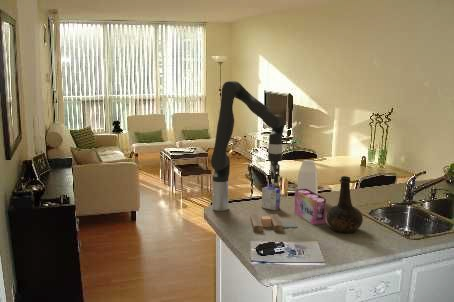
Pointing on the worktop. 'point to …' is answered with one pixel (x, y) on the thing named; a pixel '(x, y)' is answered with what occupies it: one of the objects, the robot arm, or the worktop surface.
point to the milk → (308, 176)
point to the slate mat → (289, 225)
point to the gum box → (310, 206)
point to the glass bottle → (344, 211)
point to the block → (266, 221)
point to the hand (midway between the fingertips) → (274, 180)
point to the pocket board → (258, 225)
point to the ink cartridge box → (271, 197)
